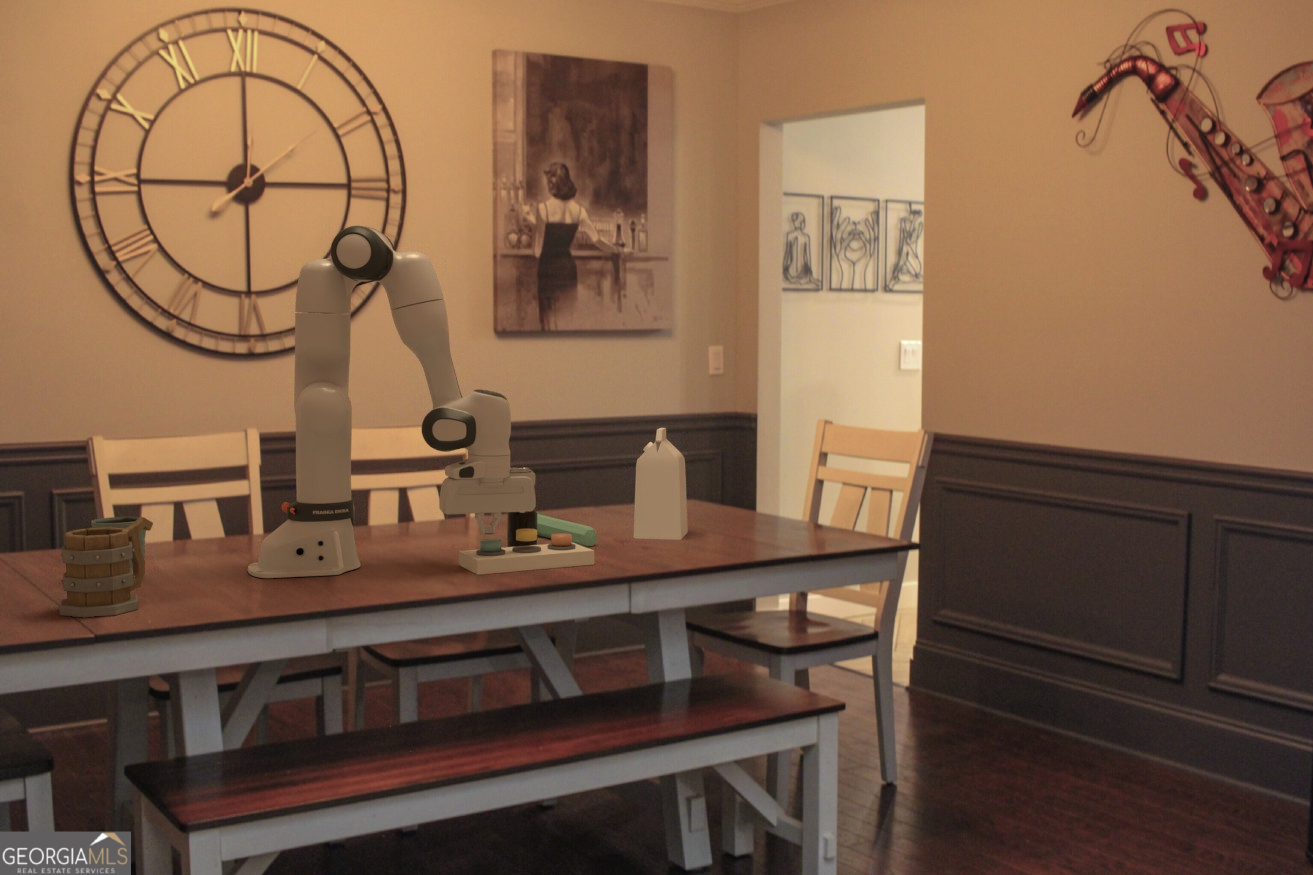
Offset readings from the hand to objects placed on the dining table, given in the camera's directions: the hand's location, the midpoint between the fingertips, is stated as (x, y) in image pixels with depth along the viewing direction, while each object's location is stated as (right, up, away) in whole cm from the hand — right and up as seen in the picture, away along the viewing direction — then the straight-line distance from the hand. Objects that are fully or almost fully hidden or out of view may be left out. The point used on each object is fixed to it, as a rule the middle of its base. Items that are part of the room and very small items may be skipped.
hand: (487, 534), depth 267 cm
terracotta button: (+15, -3, +8) cm, 17 cm away
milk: (+36, -4, +45) cm, 58 cm away
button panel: (+8, -7, +4) cm, 11 cm away
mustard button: (+8, -1, +4) cm, 9 cm away
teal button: (+1, -3, 0) cm, 3 cm away
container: (+13, -5, +37) cm, 39 cm away
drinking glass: (-71, -8, -13) cm, 73 cm away
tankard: (-62, -10, -37) cm, 73 cm away
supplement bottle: (+5, -6, +23) cm, 24 cm away
